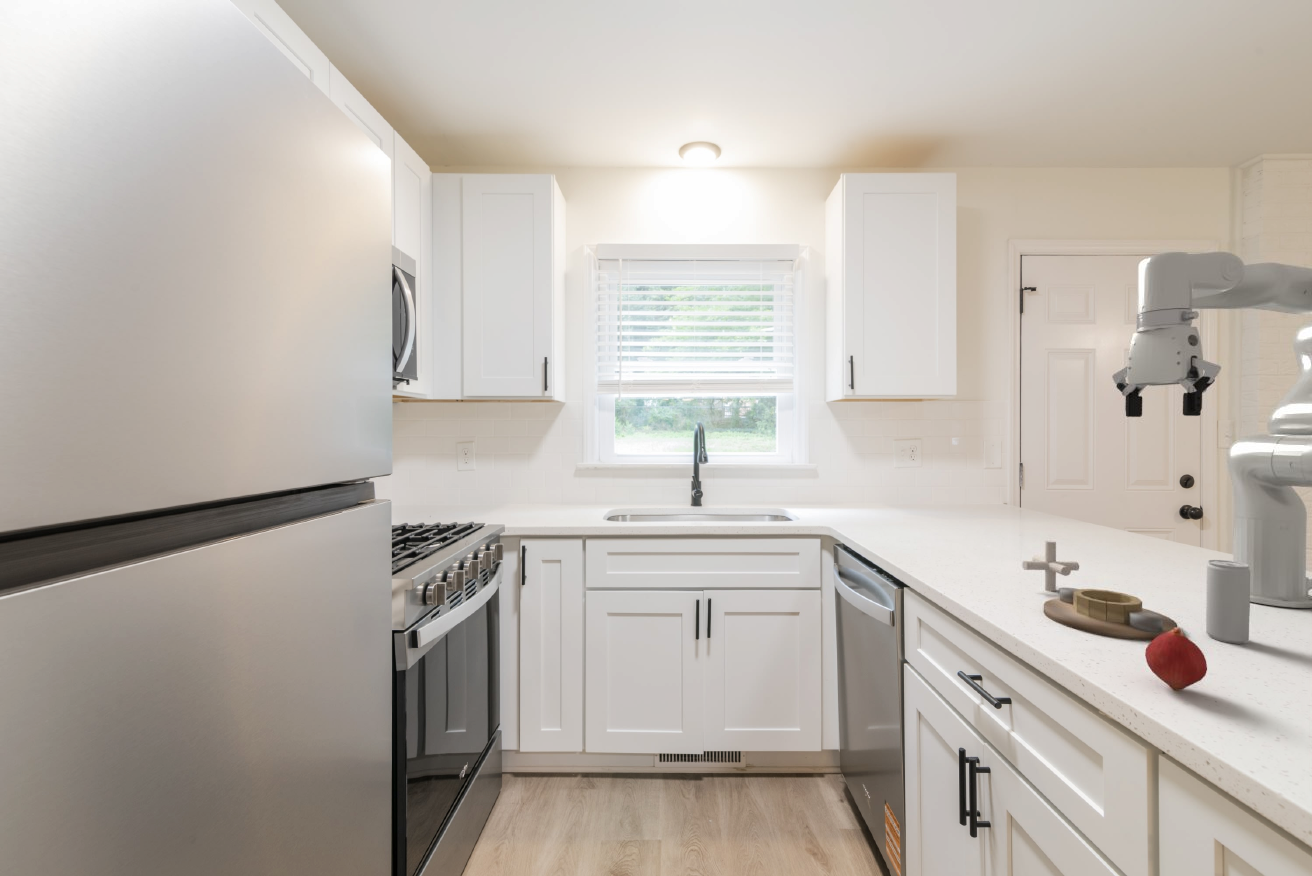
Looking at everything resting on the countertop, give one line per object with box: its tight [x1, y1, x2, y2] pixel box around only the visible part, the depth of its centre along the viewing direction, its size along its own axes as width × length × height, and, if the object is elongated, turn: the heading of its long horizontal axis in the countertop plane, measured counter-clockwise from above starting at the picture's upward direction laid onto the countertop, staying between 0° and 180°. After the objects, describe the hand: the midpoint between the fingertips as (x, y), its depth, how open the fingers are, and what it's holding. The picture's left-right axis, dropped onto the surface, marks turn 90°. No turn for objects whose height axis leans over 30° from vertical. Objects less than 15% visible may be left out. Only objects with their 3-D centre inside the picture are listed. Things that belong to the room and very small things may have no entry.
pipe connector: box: [1021, 540, 1080, 592], centre depth 116 cm, size 10×10×10 cm
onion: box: [1144, 627, 1208, 691], centre depth 72 cm, size 6×6×8 cm
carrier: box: [1043, 587, 1178, 641], centre depth 98 cm, size 18×18×4 cm
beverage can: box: [1205, 559, 1251, 645], centre depth 89 cm, size 5×5×12 cm
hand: (1161, 416), depth 104 cm, fingers open, 9 cm apart
